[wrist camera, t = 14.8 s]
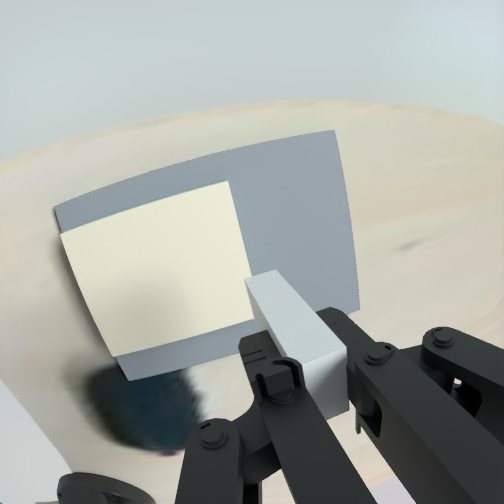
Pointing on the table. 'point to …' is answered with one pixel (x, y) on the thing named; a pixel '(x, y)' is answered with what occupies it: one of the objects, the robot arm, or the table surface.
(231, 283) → the board
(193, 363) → the mat
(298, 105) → the table surface
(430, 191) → the table surface
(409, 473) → the robot arm
